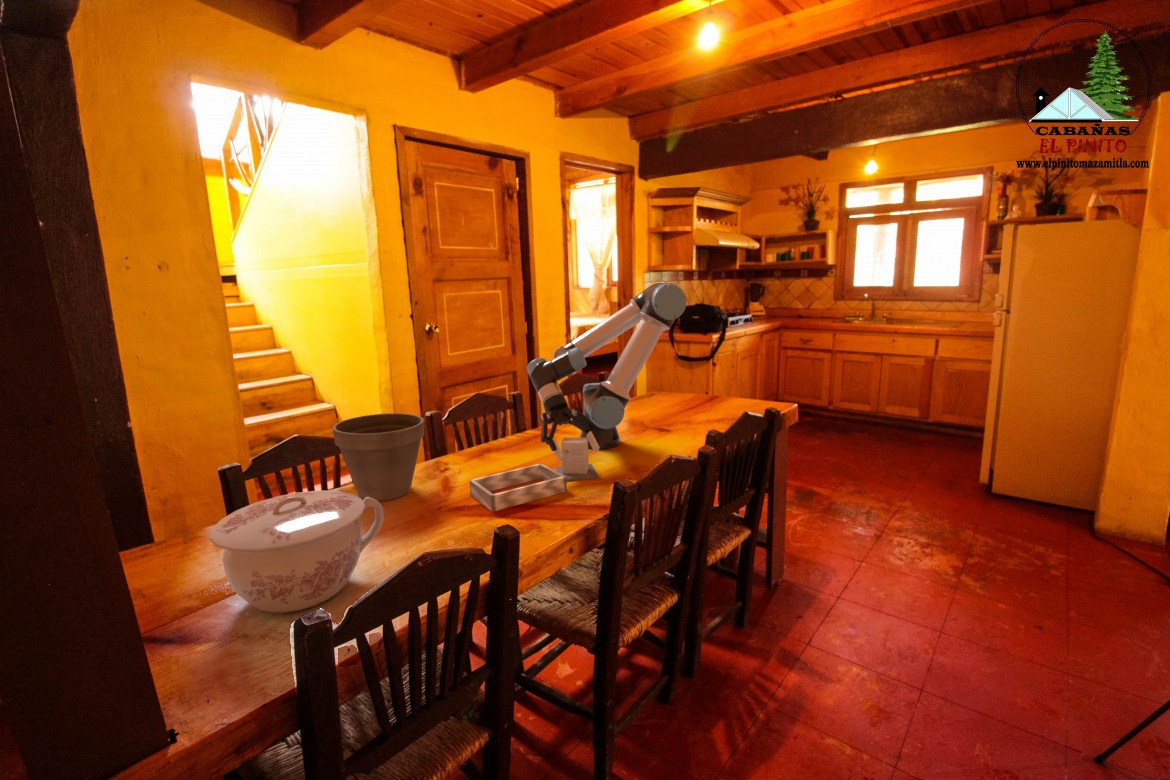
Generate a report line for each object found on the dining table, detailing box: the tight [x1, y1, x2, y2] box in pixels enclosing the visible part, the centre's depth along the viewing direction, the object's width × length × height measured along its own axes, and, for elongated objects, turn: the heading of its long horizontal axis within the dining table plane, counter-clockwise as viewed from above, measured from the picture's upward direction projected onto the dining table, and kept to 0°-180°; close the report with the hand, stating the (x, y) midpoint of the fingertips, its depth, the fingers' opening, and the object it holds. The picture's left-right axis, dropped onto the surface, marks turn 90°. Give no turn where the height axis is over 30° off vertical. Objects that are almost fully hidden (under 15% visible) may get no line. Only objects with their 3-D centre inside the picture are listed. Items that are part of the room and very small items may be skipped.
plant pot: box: [332, 412, 425, 502], centre depth 164 cm, size 25×25×22 cm
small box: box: [560, 437, 590, 474], centre depth 177 cm, size 8×6×10 cm
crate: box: [468, 463, 568, 513], centre depth 163 cm, size 24×15×4 cm, turn 125°
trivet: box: [554, 463, 599, 482], centre depth 178 cm, size 12×12×1 cm
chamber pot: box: [208, 490, 385, 614], centre depth 111 cm, size 28×28×21 cm
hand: (579, 454), depth 175 cm, fingers open, 13 cm apart
